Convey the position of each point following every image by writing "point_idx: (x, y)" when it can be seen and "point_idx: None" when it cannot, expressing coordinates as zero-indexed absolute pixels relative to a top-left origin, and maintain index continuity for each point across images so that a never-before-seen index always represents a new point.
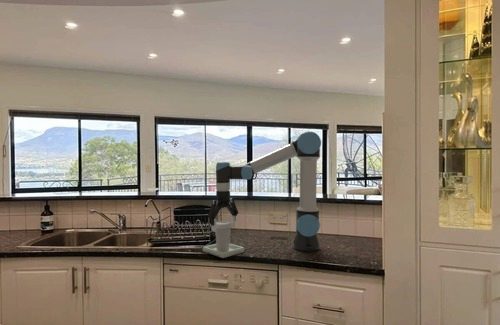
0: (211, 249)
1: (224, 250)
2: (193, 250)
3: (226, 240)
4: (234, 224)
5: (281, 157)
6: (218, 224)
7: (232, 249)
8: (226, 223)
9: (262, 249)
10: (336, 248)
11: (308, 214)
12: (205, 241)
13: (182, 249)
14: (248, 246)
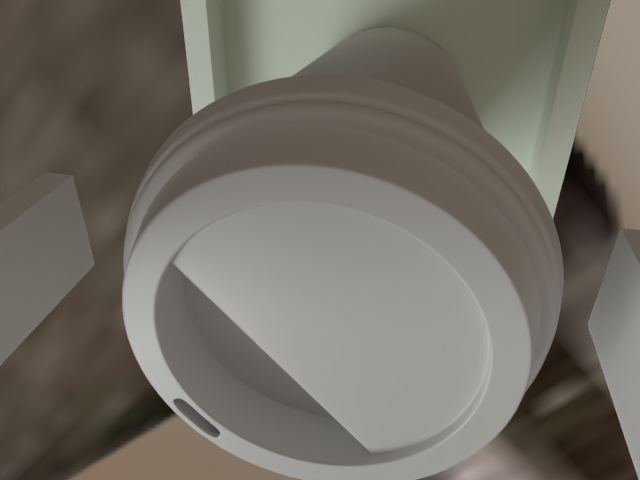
0: (561, 164)
1: (427, 41)
2: (546, 370)
3: (396, 53)
4: (13, 206)
5: None
6: (535, 337)
7: (271, 41)
8: (252, 269)
9: None
10: None
11: None
12: None
13: (578, 454)
14: (9, 24)
